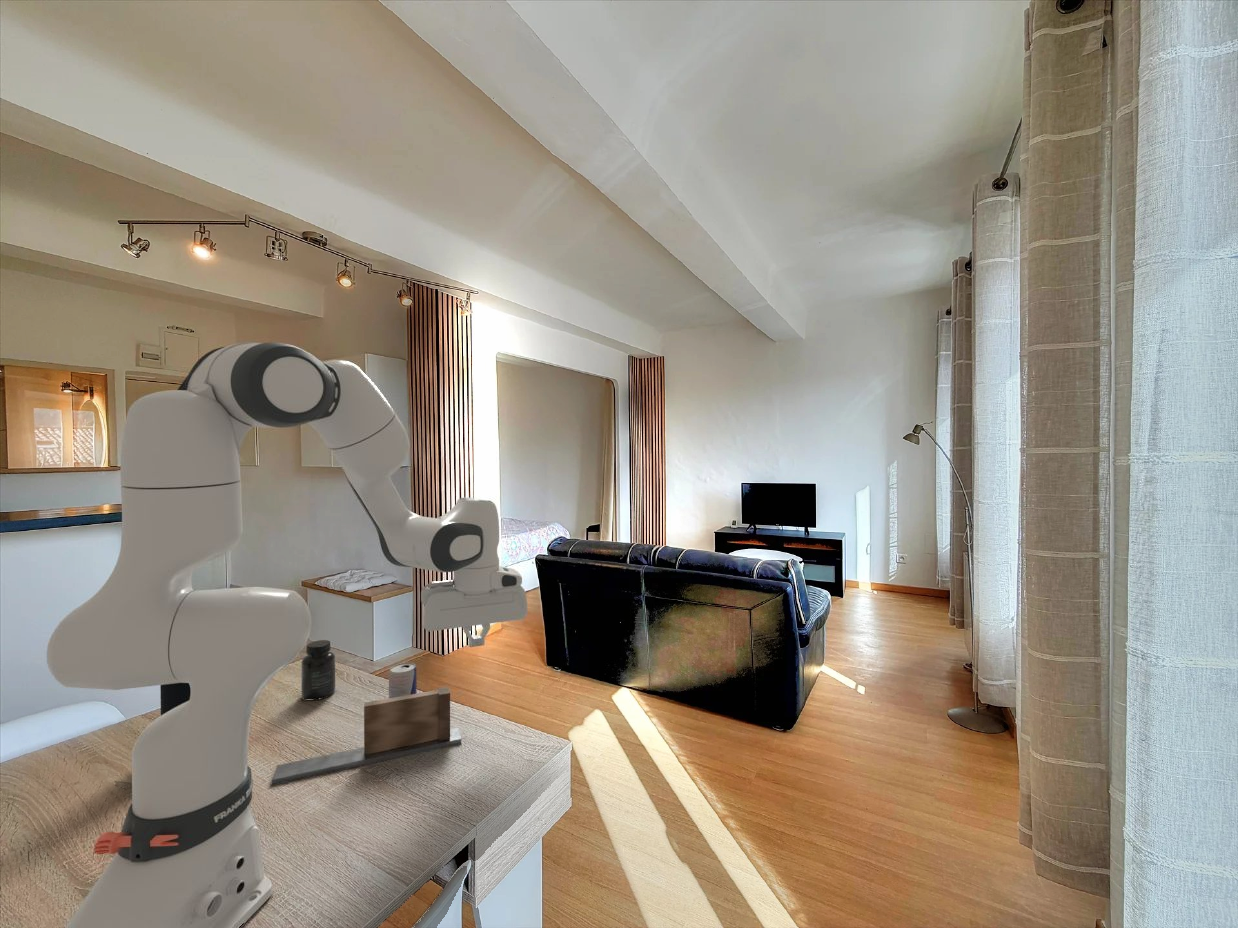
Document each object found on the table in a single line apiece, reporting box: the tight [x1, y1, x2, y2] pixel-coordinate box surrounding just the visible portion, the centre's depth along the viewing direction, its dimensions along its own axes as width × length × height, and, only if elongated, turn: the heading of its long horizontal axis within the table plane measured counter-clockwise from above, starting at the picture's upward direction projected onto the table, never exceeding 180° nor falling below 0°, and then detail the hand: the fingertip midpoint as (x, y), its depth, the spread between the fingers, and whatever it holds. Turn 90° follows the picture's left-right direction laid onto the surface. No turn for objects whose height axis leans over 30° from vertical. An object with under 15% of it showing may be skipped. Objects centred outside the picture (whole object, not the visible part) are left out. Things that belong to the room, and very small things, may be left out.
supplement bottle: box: [300, 639, 336, 700], centre depth 117 cm, size 7×7×12 cm
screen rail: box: [271, 727, 462, 786], centre depth 93 cm, size 31×4×1 cm, turn 114°
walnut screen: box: [363, 685, 451, 755], centre depth 96 cm, size 15×3×9 cm, turn 114°
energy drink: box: [388, 662, 418, 699], centre depth 104 cm, size 5×5×12 cm
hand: (476, 645), depth 101 cm, fingers closed
